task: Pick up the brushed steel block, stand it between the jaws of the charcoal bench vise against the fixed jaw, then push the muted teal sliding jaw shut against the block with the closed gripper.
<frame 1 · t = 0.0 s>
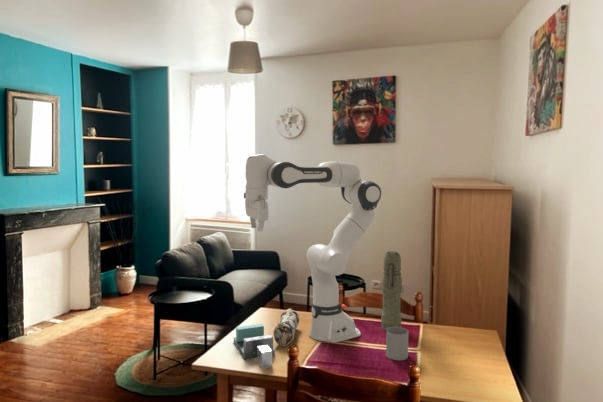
hand: (256, 229, 176), 48 cm above the table, tool pointing down, fingers open, 8 cm apart
pencil case: (287, 337, 189), on the table
grey-green stone column: (391, 328, 199), on the table
sliding jaw: (250, 332, 181), point 5 cm above the table, slide at 0.0 cm
cup: (396, 356, 171), on the table
vise: (253, 348, 177), on the table
steel block: (264, 364, 163), on the table
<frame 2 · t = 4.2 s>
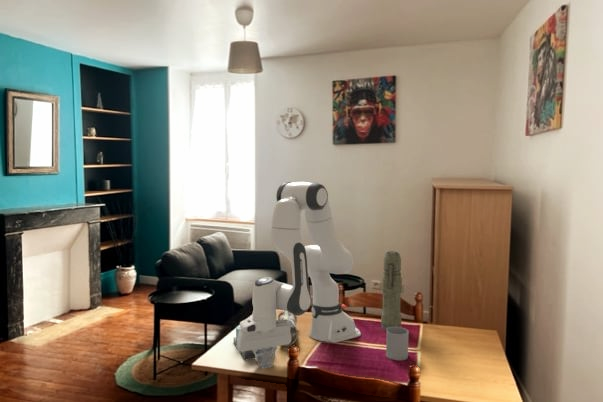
hand: (264, 358, 163), 2 cm above the table, tool pointing down, fingers closed on steel block, 4 cm apart
steel block: (264, 364, 163), on the table, touching gripper
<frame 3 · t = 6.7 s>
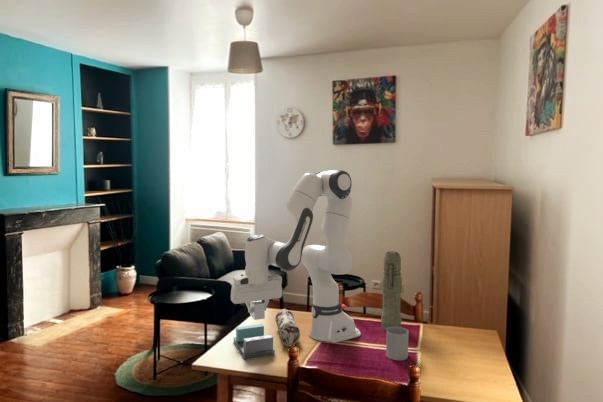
hand: (257, 311, 171), 17 cm above the table, tool pointing down, fingers closed on steel block, 4 cm apart
steel block: (257, 316, 171), point 15 cm above the table, touching gripper
when the fingers open (6 cm above the table, at t = 9.5 s): steel block drops 1 cm, resting on vise.
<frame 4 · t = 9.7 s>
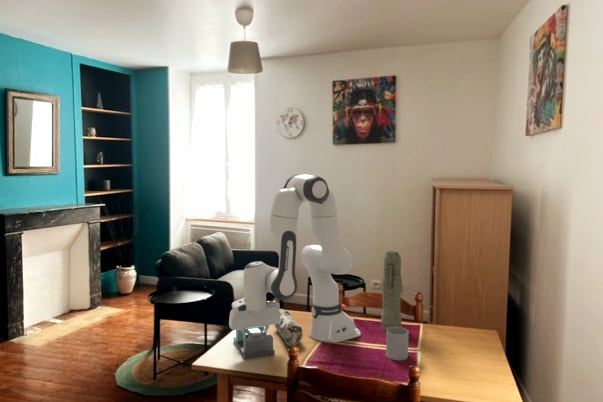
hand: (255, 337, 174), 6 cm above the table, tool pointing down, fingers open, 6 cm apart
steel block: (255, 345, 174), point 2 cm above the table, touching vise
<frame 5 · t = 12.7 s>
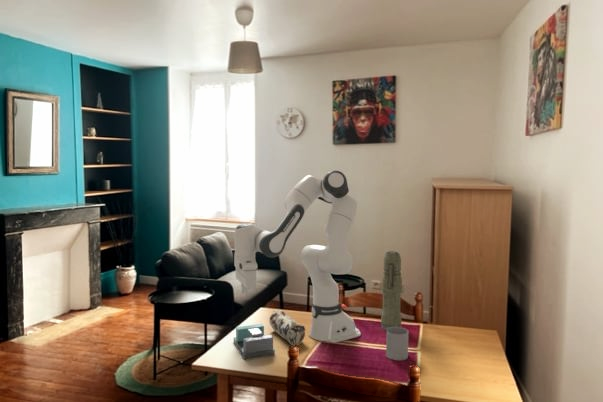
hand: (245, 293, 187), 19 cm above the table, tool pointing down, fingers closed
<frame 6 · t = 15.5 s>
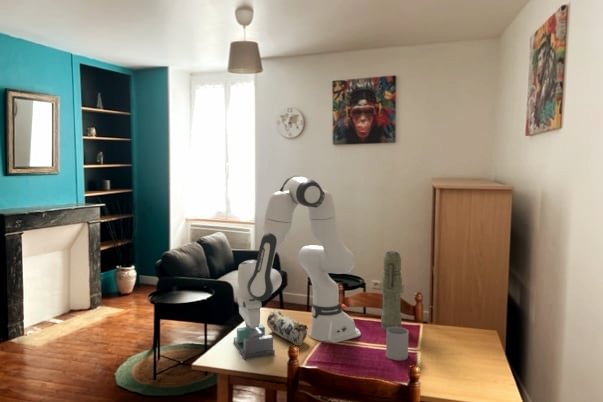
hand: (248, 331, 183), 5 cm above the table, tool pointing down, fingers closed
sliding jaw: (250, 333, 180), point 5 cm above the table, slide at 1.3 cm, touching gripper
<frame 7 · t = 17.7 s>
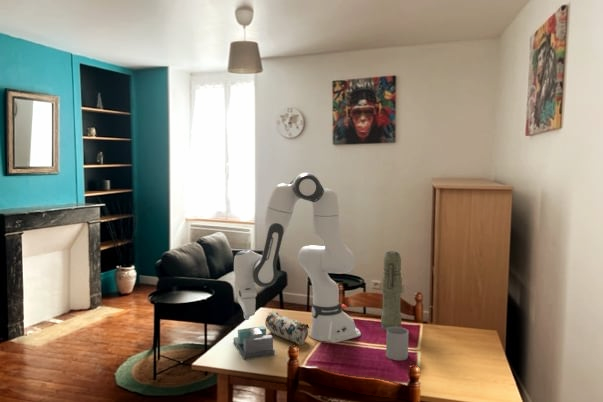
hand: (246, 318, 189), 8 cm above the table, tool pointing down, fingers closed
sliding jaw: (252, 335, 178), point 5 cm above the table, slide at 3.0 cm
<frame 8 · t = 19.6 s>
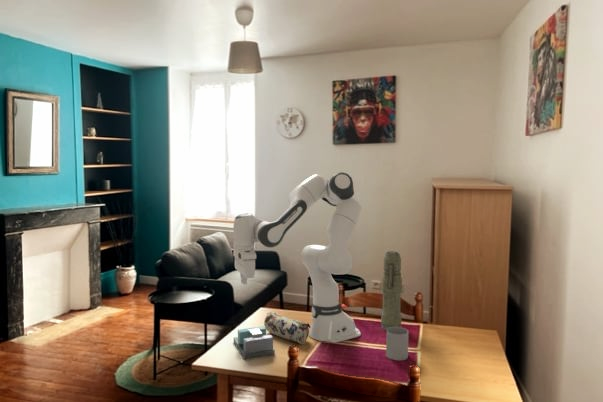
hand: (244, 283, 188), 23 cm above the table, tool pointing down, fingers closed
at the end: steel block 0.1 cm from the target spot on the vise, point 2.0 cm above the vise's base; steel block tilted 0°; sliding jaw slide at 3.0 cm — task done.
